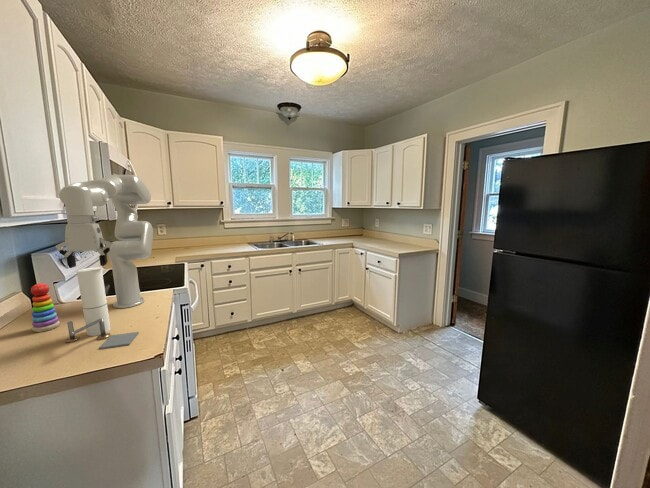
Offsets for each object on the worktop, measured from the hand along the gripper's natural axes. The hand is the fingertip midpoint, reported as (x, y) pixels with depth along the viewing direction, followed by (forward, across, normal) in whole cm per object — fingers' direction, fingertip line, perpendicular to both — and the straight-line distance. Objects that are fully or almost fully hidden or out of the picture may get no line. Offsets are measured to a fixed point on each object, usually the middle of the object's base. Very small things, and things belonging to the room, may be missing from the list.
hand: (88, 266), depth 101 cm
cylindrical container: (+27, 0, -1) cm, 27 cm away
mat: (+26, -11, +10) cm, 31 cm away
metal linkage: (+26, +1, +9) cm, 28 cm away
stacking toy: (+26, +22, -10) cm, 36 cm away
